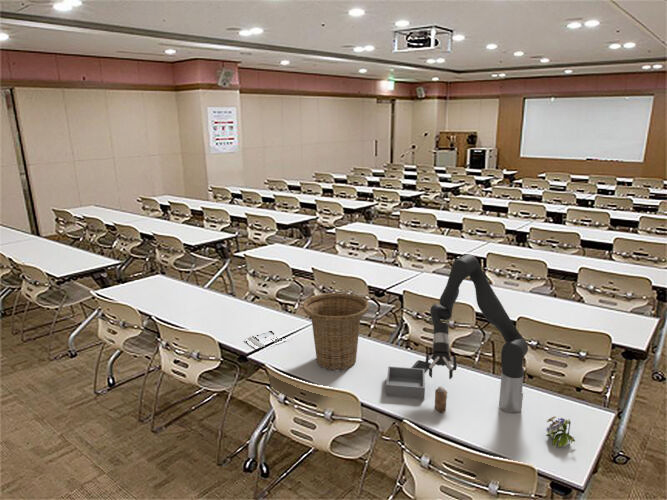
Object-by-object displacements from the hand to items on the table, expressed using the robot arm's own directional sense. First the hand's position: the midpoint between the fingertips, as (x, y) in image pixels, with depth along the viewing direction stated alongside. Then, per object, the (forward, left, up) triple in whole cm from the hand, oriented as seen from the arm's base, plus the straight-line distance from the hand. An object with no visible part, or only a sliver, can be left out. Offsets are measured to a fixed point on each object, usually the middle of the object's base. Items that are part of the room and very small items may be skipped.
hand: (440, 378), depth 224 cm
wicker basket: (+54, -31, -12) cm, 63 cm away
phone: (+9, -29, -12) cm, 33 cm away
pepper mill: (0, +7, -12) cm, 14 cm away
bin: (+16, -9, -12) cm, 22 cm away
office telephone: (+100, -51, -12) cm, 113 cm away
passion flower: (-47, +22, -12) cm, 53 cm away
